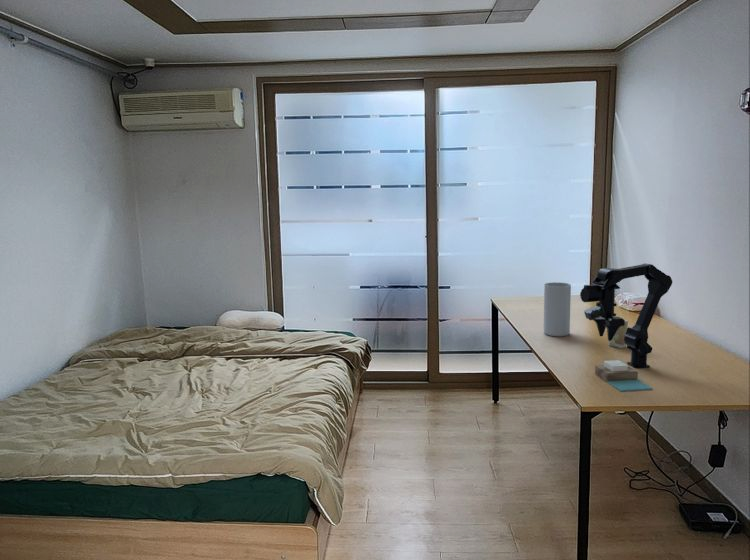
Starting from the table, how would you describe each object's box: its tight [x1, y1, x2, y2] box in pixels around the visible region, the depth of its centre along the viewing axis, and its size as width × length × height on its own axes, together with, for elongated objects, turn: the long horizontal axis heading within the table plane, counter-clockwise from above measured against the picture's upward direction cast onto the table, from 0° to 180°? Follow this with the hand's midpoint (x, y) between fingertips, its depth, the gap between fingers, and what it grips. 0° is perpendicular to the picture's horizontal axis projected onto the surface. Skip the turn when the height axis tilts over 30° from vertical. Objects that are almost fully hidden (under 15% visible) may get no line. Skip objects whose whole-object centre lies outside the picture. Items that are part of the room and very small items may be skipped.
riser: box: [594, 364, 639, 383], centre depth 228 cm, size 10×12×4 cm
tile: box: [603, 359, 629, 371], centre depth 228 cm, size 7×6×2 cm
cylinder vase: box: [543, 281, 572, 338], centre depth 293 cm, size 12×12×25 cm
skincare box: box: [609, 320, 629, 349], centre depth 269 cm, size 6×4×12 cm
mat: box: [607, 379, 653, 392], centre depth 218 cm, size 10×12×1 cm
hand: (605, 338), depth 236 cm, fingers open, 7 cm apart
